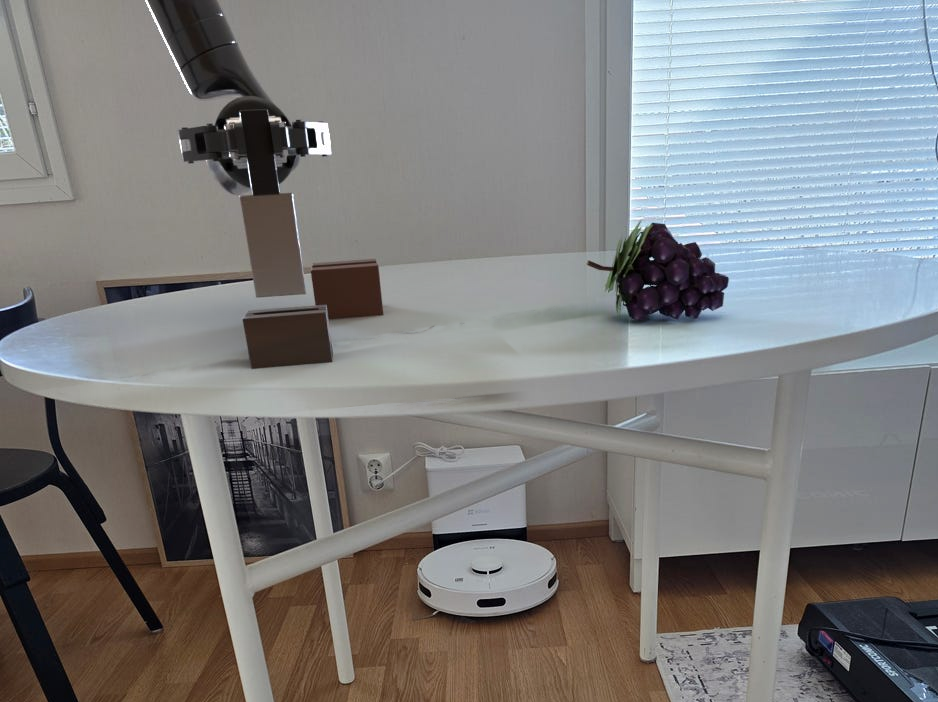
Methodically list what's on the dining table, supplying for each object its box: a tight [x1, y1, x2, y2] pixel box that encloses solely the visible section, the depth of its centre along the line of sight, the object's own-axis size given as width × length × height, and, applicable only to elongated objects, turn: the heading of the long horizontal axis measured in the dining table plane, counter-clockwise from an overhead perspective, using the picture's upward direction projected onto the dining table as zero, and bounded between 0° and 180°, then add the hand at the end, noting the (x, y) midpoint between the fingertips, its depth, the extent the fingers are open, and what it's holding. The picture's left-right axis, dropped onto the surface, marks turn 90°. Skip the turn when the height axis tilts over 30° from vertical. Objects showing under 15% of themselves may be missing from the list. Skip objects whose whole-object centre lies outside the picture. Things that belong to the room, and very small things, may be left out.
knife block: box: [242, 304, 334, 370], centre depth 78 cm, size 5×7×5 cm
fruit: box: [586, 218, 730, 322], centre depth 90 cm, size 10×11×15 cm
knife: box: [239, 109, 307, 298], centre depth 72 cm, size 3×4×14 cm
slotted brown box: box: [310, 258, 385, 321], centre depth 96 cm, size 8×8×7 cm
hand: (258, 138), depth 68 cm, fingers closed on knife, 2 cm apart
